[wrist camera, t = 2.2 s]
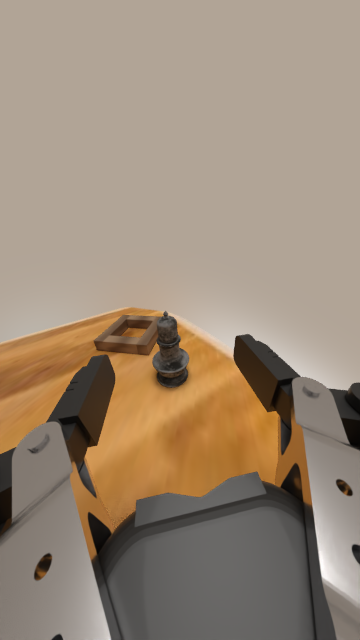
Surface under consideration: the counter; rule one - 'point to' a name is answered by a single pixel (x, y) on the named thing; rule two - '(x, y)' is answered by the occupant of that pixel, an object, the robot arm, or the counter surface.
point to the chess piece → (170, 354)
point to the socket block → (134, 345)
